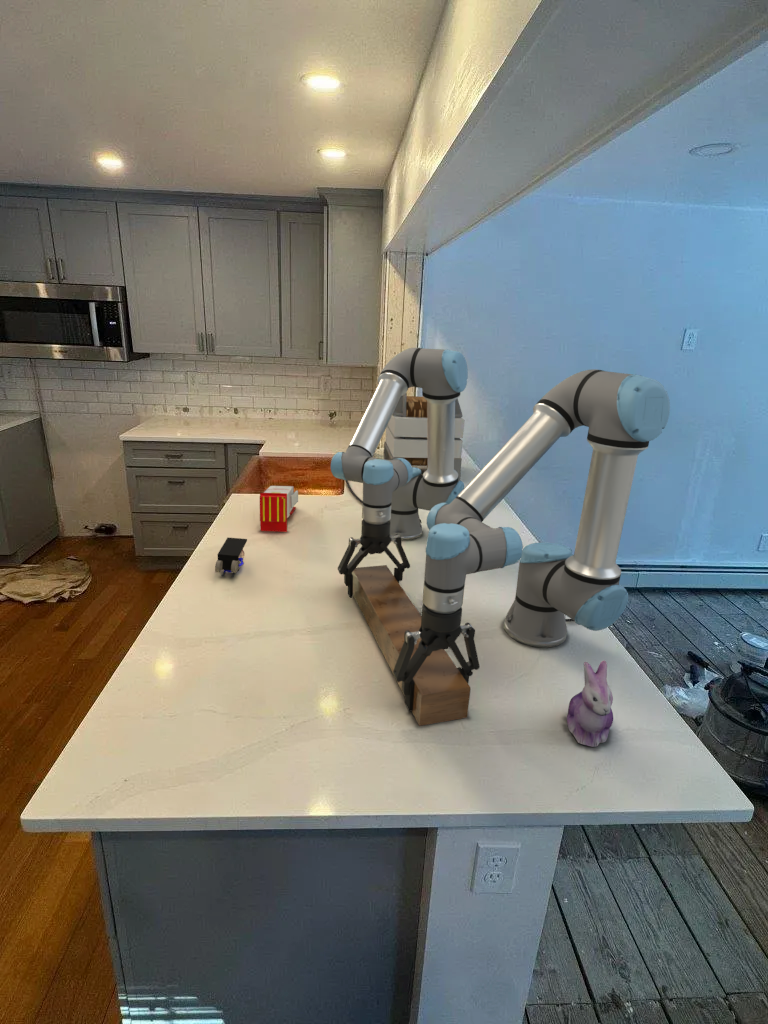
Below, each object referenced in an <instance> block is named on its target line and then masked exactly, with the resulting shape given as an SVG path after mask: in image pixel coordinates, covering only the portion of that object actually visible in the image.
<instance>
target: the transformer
mask: <svg viewBox="0 0 768 1024" xmlns="http://www.w3.org/2000/svg"><path fill="white" fill-rule="evenodd" d="M407 394H408V392H406V394H404V395H403V396H401V397H400V399H399V401H398V404H397V406H396V408H395V410H394V412H393V414H392V416H391V419H390V421H389V423H388V425H387V427H386V429H385V438H384V442H383V459H386V460H393V459H397V458H403V459H405V460H407V461H408V462H409V463H410V464H411V466H412V467H417V466H418V467H428V453H427V400H426V399H425V398H424V397H423V396H415V395H414V396H413V395H412V396H411V395H407ZM464 429H465V419H464V418H463V411H462V408H461V405H460V402H459V397H458V398H457V399H456V400H455V435H454V470H455V471H456V472H457V473H458V481H460V480H461V472H462V461H463V460H462V453H463V442H464V441H463V440H462V439H463V438H464V431H465V430H464Z"/></svg>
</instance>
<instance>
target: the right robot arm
mask: <svg viewBox="0 0 768 1024" xmlns="http://www.w3.org/2000/svg"><path fill="white" fill-rule="evenodd" d="M532 408H533V409H532V412H533V413H532V415H531V416H530V417H529V418H528V419H526V421H524V423H523V424H522V425H521V427H520V428H518V430H517V431H516V432H515V433H514V434H512V436H510V438H509V440H508V441H506V443H504V445H503V446H502V447H501V448H500V449H499V450H498V451H497V452H496V453H495V454H494V455H493V457H492V458H490V460H489V461H488V462H486V464H485V465H484V466H483V467H482V469H481V470H480V471H478V473H476V475H475V476H474V477H473V478H472V479H471V480H470V481H469V482H468V483H467V484H466V486H464V489H463V490H462V491H461V492H460V493H459V494H458V496H457V497H456V498H455V499H454V500H453V501H452V502H451V503H450V504H449V503H440V504H437V505H435V506H434V507H433V508H432V509H431V510H430V511H429V510H428V513H427V516H426V527H427V529H428V534H427V537H426V538H427V539H426V546H425V564H424V577H423V578H424V580H423V592H422V604H421V627H420V629H419V631H417V632H410V631H409V630H407V631H405V633H404V643H403V646H402V649H401V651H400V654H399V657H398V659H397V662H396V665H395V668H394V670H393V673H392V675H393V674H394V675H393V677H394V676H395V677H394V679H395V678H396V679H395V681H396V680H397V681H398V682H400V681H402V688H401V689H400V690H402V691H401V692H403V693H402V695H403V694H404V695H403V697H404V696H405V697H404V704H405V706H406V707H407V710H408V712H412V711H413V701H414V687H415V683H414V681H413V677H414V676H415V674H416V673H417V671H418V670H419V668H420V667H421V665H422V664H423V662H424V661H425V659H426V658H427V656H430V654H431V653H432V651H437V650H440V649H444V650H449V648H450V650H451V652H452V654H453V655H454V657H455V658H456V660H457V662H458V664H459V665H460V666H459V667H457V669H458V670H459V671H460V673H461V674H462V676H463V677H464V679H465V680H466V682H467V683H468V684H469V683H470V677H472V676H473V673H474V672H473V670H475V671H477V670H479V669H480V667H481V666H480V662H479V656H478V652H477V647H476V642H475V634H476V629H475V628H474V626H473V625H472V624H471V623H470V622H466V623H464V624H463V625H461V624H462V617H463V616H462V615H463V604H464V593H465V585H466V578H467V576H468V575H470V574H475V573H481V572H487V571H493V570H497V569H504V568H506V567H508V566H512V565H515V564H517V563H518V562H519V564H518V573H517V578H516V579H517V580H516V587H515V588H516V589H515V597H514V600H513V602H512V603H511V606H510V608H509V609H508V611H507V613H506V615H505V618H504V620H503V621H504V623H503V629H504V631H505V632H506V634H507V635H508V636H509V637H510V638H511V639H513V640H515V641H517V643H518V642H519V643H520V644H523V645H526V646H529V647H535V648H553V647H558V646H560V645H562V644H563V643H564V642H565V641H566V639H567V635H568V626H567V623H572V622H573V623H576V624H577V625H579V626H582V627H584V629H587V630H589V631H594V632H597V631H598V632H599V631H603V630H605V629H607V628H609V627H610V626H612V625H613V624H614V623H615V622H616V621H618V620H619V619H620V617H621V616H622V614H623V613H624V612H625V610H626V607H627V606H628V603H629V593H628V590H627V589H626V588H625V586H623V585H622V584H620V580H621V576H622V569H621V568H620V566H619V565H618V564H617V558H618V553H619V548H620V543H621V538H622V533H623V528H624V524H625V519H626V515H627V510H628V504H629V501H630V495H631V490H632V485H633V481H634V476H635V471H636V467H637V463H638V458H639V455H641V453H642V452H644V451H645V450H647V449H648V448H649V444H650V442H651V441H654V440H655V439H657V438H659V436H661V434H662V433H663V430H664V429H666V426H667V425H668V422H669V418H670V412H671V402H670V397H669V394H668V391H666V388H665V387H664V385H663V384H662V383H661V382H660V381H658V380H656V379H654V378H651V377H646V376H643V375H641V374H631V373H624V372H615V371H608V370H603V369H596V368H595V369H585V370H582V371H579V372H576V373H573V374H572V375H569V376H568V377H566V378H565V379H563V380H562V381H560V382H558V384H556V385H554V386H553V387H552V388H551V389H550V390H549V391H547V392H546V393H545V394H544V395H543V396H542V397H541V398H540V399H539V400H538V401H537V402H536V404H534V406H533V407H532ZM583 426H584V427H588V430H587V436H586V441H587V443H588V444H589V445H590V446H591V448H592V452H591V459H590V463H589V469H588V474H587V480H586V485H585V486H586V487H585V493H584V496H583V501H582V502H583V503H582V508H581V514H580V519H579V525H578V529H577V535H576V541H575V548H574V550H572V548H570V546H568V545H565V544H561V543H556V542H545V541H544V542H534V543H530V544H527V545H525V546H524V545H523V541H522V540H523V539H522V538H521V536H520V533H519V532H518V531H517V530H516V529H515V528H513V527H511V526H498V527H495V528H494V527H491V526H490V525H488V524H486V523H484V521H485V519H486V518H487V517H488V516H489V515H490V514H491V513H492V512H493V511H494V509H495V508H497V506H498V505H499V504H500V503H501V502H502V501H503V500H504V499H505V498H506V496H507V495H508V494H509V493H510V492H511V491H512V490H513V489H514V488H515V486H517V485H518V483H520V481H521V480H522V479H523V478H524V477H525V476H526V475H527V474H528V472H530V470H531V469H532V468H533V467H534V466H535V465H536V464H537V463H538V462H539V461H540V460H541V458H543V456H544V455H545V454H546V453H547V452H548V451H549V450H550V449H551V448H552V447H553V445H554V444H555V443H557V441H558V440H559V439H560V438H567V437H568V436H569V435H570V434H571V433H572V432H573V431H574V430H576V429H578V428H579V427H583ZM573 551H574V553H573ZM566 617H568V618H566ZM460 635H462V636H463V640H464V641H463V642H464V645H465V650H466V654H467V659H468V661H466V658H465V657H464V655H463V653H462V652H461V650H460V647H459V646H458V645H457V642H456V641H457V640H458V638H459V637H460ZM419 638H421V639H422V640H421V641H420V643H419V645H418V648H417V650H416V651H415V653H414V655H413V656H412V653H413V650H414V645H416V644H417V640H418V639H419ZM426 645H427V647H426ZM411 656H412V658H411ZM410 658H411V659H410ZM397 681H396V682H397Z"/></svg>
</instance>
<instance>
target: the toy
mask: <svg viewBox="0 0 768 1024" xmlns="http://www.w3.org/2000/svg"><path fill="white" fill-rule="evenodd" d="M298 503H299V490H298V489H297V490H295V491H294V486H293V485H270V486H268V488H267V489H265V490H264V492H259V526H260V528H259V529H260V531H259V532H279V533H281V532H283V533H287V532H288V518H289V517H290V516H291V515H293V514H294V512H295V510H296V508H297V507H296V506H295V505H296V504H298Z"/></svg>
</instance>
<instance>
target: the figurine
mask: <svg viewBox="0 0 768 1024" xmlns="http://www.w3.org/2000/svg"><path fill="white" fill-rule="evenodd" d="M583 676H584V677H583V678H584V686H583V688H582V690H581V691H580V692H579V693H577V694H575V695H574V696H572V698H571V699H570V700H569V703H568V709H567V714H566V725H567V728H568V731H569V732H570V733H571V734H572V736H573V737H574V738H575V740H576V742H577V743H578V744H580V745H584V746H588V747H593V748H596V747H598V746H599V745H600V744H601V743H602V744H603V743H605V742H606V741H607V739H608V737H609V734H610V728H611V727H612V726H613V723H614V712H613V709H612V704H613V701H614V697H613V692H612V689H611V687H610V686H609V684H608V680H607V677H608V663H607V661H606V660H602V661H600V663H599V664H598V667H597V670H596V671H595V670H594V669H593V667H592V665H591V664H590V663H589V662H588V661H584V662H583Z"/></svg>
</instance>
